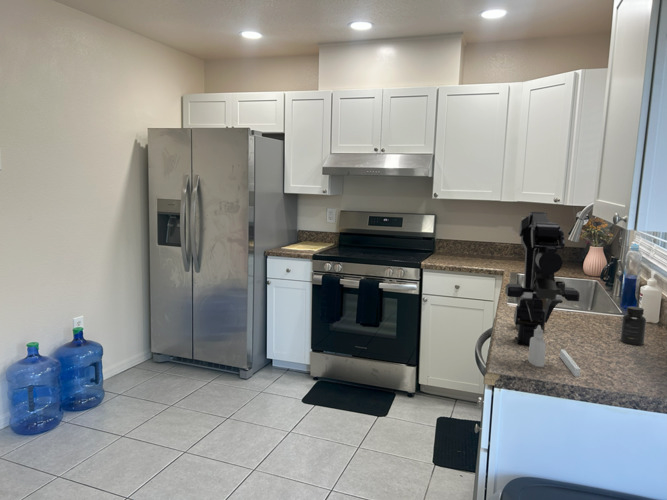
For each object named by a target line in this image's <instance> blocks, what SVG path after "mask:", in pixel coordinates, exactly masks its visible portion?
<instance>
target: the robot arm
mask: <svg viewBox="0 0 667 500" xmlns="http://www.w3.org/2000/svg"><path fill="white" fill-rule="evenodd" d="M549 219H550V218H548V214H547V212H545V211H530V212H528V216H526V217H525V218H523V219H522V220H521V222H520V225H519V230H518V237H520V243H521V245H522V247H523V248H524V251H525V253H524V254H525V256H524V257H525V258H524V274H523V275H524V277H523V280H524V281H523V286H522V285H521V284H520V283H518V284H517V283H507V284H506V285H505V290H504V291H505V292H504V293H505V295H506V296H507V297H510V298H518V297H521V298H520V300H519V301H518V300H517V302H518V306H517V305H515V311H514V314H513V322H514V325H515V326H516V325H517V324H518V330H517V336H515V337H514V339H515V341H516V344H517V345H522V346H523V345H526V346H530V339H531V337H534V330H535V329H537V326H538V325H540V326H541V327H543V326H544V322H545V324H546V323H548V321H549V319H550V318H551V317H550V316H551V315H552V312H553V310H554V308H555V307H556V306H558V304H562V303H563V300H562V298H564V299H565V300H566V301H569V302H579V301H580V292H579V291H578V290H577V289H575V288H574V287H566V283H565V281H564V280H563V281H561V280H557V281H556V279H555V274H556V273H557V272H559V271H560V270H561V269H562V267H563V260H562V257H561V255H560V254H558V252H557V251H558V250H561V251H562V250H564V247H565V246H566V240H565V232H564V231H563V228H562V227H561V226H560V224H559V223H557V222H551V221H550V220H549ZM544 298H547V302H546V309H544V308H543V301H542V299H544Z"/></svg>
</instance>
